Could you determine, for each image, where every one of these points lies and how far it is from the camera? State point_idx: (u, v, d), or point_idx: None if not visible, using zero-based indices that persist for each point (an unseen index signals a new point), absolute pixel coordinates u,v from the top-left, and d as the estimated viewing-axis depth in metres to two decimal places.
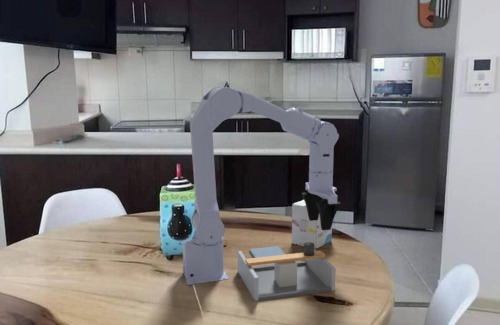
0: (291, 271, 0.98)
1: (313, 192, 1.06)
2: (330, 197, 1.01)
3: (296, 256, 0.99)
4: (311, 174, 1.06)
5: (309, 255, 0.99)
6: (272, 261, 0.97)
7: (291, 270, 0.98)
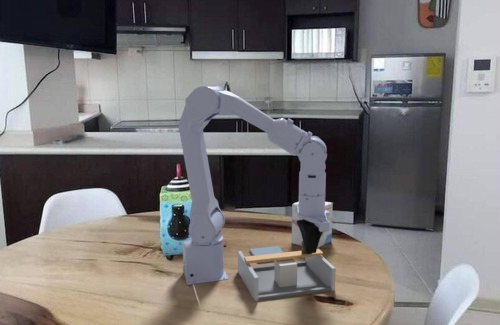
0: (291, 271, 0.98)
1: (303, 217, 0.95)
2: (321, 224, 0.90)
3: (294, 254, 1.00)
4: (301, 197, 0.95)
5: None
6: (271, 259, 0.98)
7: (291, 270, 0.98)
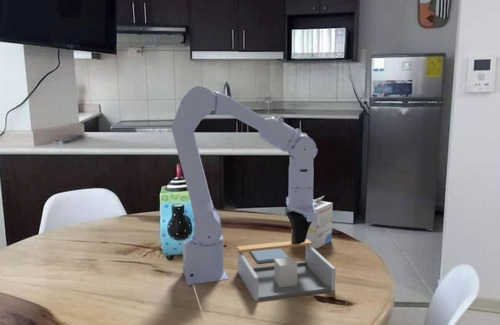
0: (291, 271, 0.98)
1: (292, 208, 1.01)
2: (309, 215, 0.97)
3: (284, 244, 1.06)
4: (290, 190, 1.02)
5: (296, 243, 1.06)
6: (262, 248, 1.04)
7: (291, 270, 0.98)
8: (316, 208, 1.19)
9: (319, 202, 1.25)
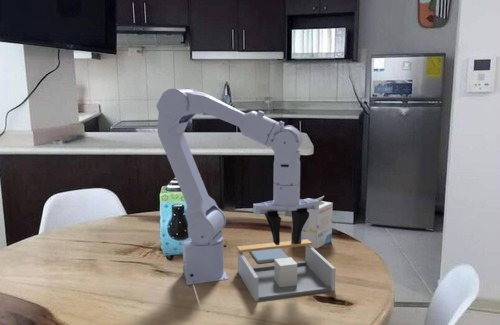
0: (291, 271, 0.98)
1: None
2: (253, 205, 0.96)
3: (284, 244, 1.06)
4: None
5: (296, 243, 1.06)
6: (262, 248, 1.04)
7: (291, 270, 0.98)
8: None
9: (319, 202, 1.25)
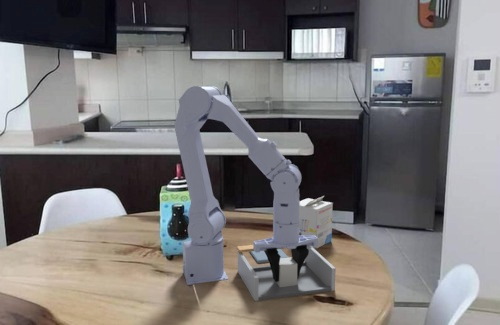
0: (291, 271, 0.98)
1: None
2: (253, 243, 0.97)
3: None
4: None
5: None
6: None
7: (291, 270, 0.98)
8: (316, 208, 1.19)
9: (319, 202, 1.25)
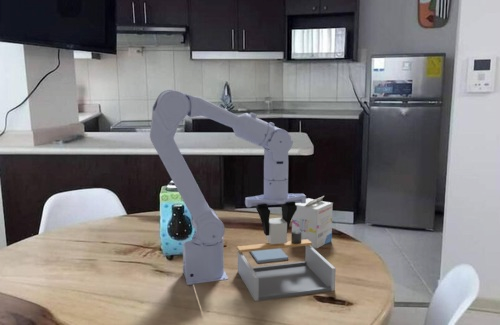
0: (281, 229, 1.05)
1: None
2: (245, 199, 1.05)
3: (284, 244, 1.06)
4: None
5: (296, 243, 1.06)
6: (262, 248, 1.04)
7: (281, 229, 1.05)
8: (316, 208, 1.19)
9: (319, 202, 1.25)
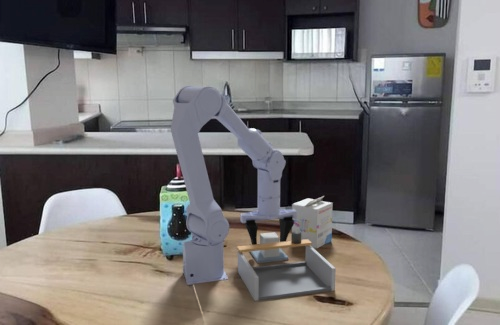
0: None
1: None
2: (240, 215, 1.12)
3: (284, 244, 1.06)
4: None
5: (296, 243, 1.06)
6: (262, 248, 1.04)
7: None
8: (316, 208, 1.19)
9: (319, 202, 1.25)
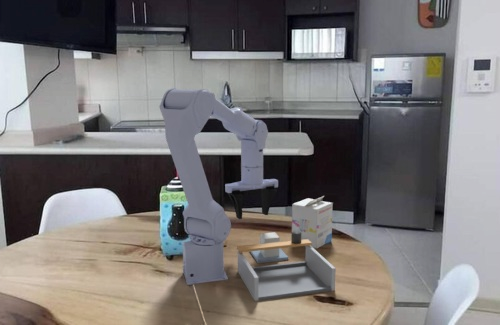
0: None
1: None
2: (225, 185, 1.14)
3: (284, 244, 1.06)
4: None
5: (296, 243, 1.06)
6: (262, 248, 1.04)
7: None
8: (316, 208, 1.19)
9: (319, 202, 1.25)
